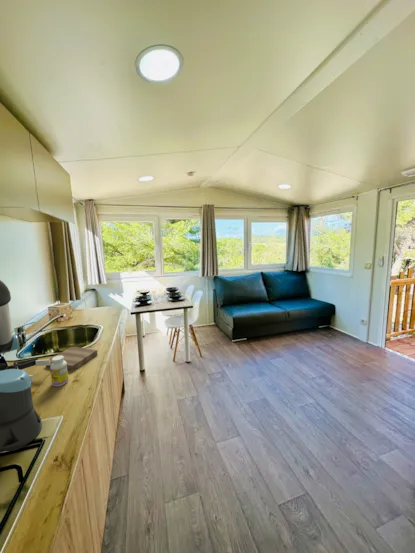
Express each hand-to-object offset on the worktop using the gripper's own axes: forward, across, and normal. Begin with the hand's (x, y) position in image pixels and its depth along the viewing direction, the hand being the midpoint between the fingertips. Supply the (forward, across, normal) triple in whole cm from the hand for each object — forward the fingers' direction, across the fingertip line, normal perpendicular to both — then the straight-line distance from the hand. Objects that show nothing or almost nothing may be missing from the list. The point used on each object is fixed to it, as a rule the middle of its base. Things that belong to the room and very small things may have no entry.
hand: (42, 369), depth 111 cm
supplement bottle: (+8, 0, -7) cm, 10 cm away
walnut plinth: (+4, -21, -7) cm, 23 cm away
